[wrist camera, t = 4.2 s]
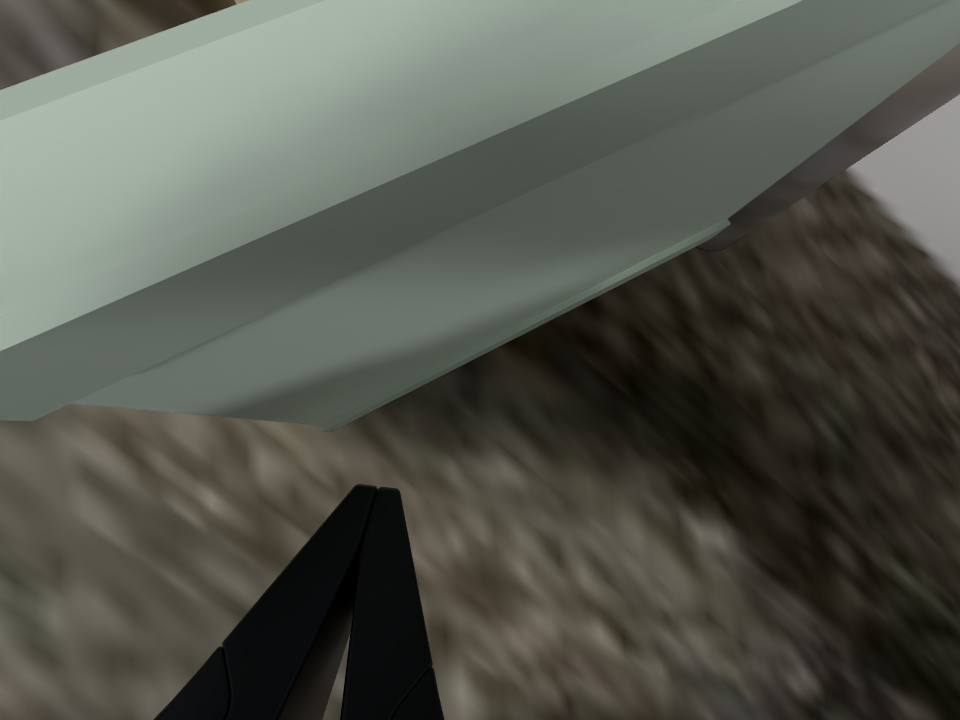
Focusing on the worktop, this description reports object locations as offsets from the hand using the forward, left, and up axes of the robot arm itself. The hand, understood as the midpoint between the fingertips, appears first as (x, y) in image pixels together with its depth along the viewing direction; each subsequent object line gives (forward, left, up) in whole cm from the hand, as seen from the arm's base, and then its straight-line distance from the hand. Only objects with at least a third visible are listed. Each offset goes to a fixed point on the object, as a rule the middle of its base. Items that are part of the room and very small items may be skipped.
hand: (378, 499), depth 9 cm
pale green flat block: (0, -6, -5) cm, 8 cm away
